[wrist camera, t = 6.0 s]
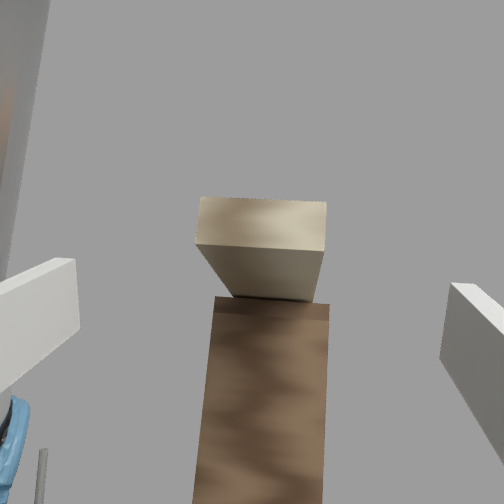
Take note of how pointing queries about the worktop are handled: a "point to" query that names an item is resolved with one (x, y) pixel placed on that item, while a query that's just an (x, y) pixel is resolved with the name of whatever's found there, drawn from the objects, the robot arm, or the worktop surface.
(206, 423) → the stand
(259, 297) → the slat
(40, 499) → the beverage cup
